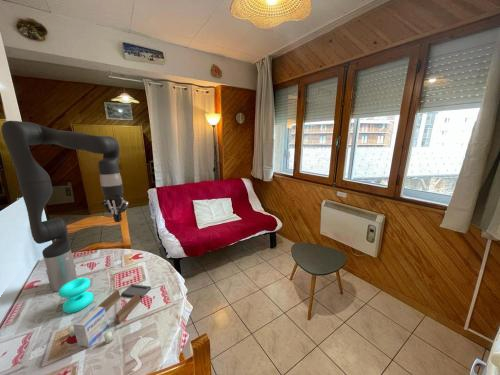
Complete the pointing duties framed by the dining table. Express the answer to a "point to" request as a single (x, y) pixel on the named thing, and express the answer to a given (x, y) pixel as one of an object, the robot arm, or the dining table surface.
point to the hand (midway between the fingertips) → (118, 221)
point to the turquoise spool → (76, 295)
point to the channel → (126, 308)
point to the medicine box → (90, 326)
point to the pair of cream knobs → (107, 335)
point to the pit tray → (136, 290)
